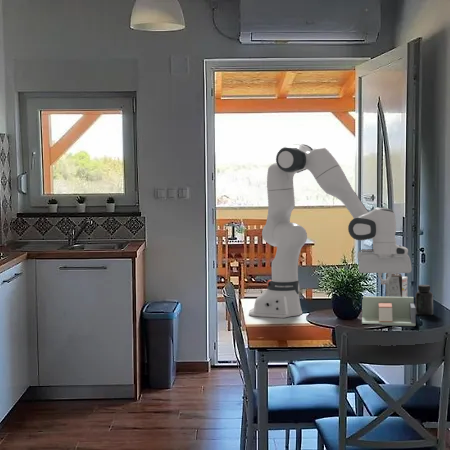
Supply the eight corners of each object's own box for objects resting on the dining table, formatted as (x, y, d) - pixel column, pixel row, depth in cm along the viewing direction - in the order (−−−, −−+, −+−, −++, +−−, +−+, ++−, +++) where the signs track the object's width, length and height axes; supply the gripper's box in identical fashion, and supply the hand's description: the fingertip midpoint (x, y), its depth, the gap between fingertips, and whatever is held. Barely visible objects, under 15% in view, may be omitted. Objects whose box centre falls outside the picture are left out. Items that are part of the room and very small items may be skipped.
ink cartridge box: (400, 305, 299) (400, 272, 298) (390, 304, 302) (389, 271, 301) (408, 302, 306) (407, 269, 305) (397, 301, 309) (397, 269, 308)
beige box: (378, 322, 263) (378, 306, 263) (378, 317, 271) (378, 302, 271) (392, 322, 262) (392, 306, 262) (391, 317, 270) (391, 302, 270)
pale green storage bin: (362, 324, 263) (361, 301, 263) (362, 318, 275) (362, 296, 274) (415, 325, 259) (415, 302, 259) (413, 319, 271) (413, 296, 270)
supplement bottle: (426, 312, 284) (426, 283, 283) (436, 315, 278) (436, 286, 277) (412, 313, 282) (412, 284, 281) (422, 316, 275) (422, 287, 274)
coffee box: (402, 315, 279) (402, 276, 278) (386, 315, 280) (386, 276, 279) (401, 310, 288) (401, 273, 287) (385, 310, 289) (385, 273, 288)
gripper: (357, 250, 264) (357, 285, 265) (411, 249, 260) (412, 285, 261) (357, 248, 270) (357, 282, 271) (410, 248, 266) (411, 283, 267)
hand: (384, 284), depth 266 cm, fingers closed
